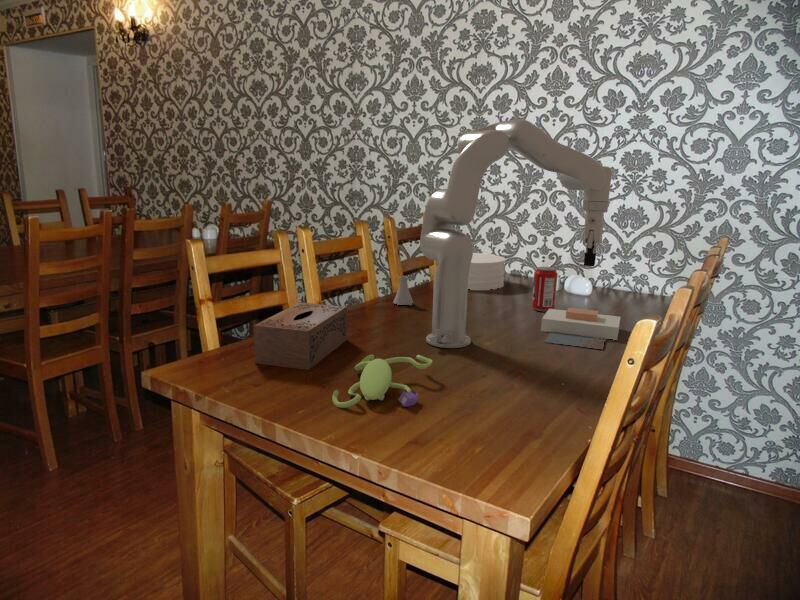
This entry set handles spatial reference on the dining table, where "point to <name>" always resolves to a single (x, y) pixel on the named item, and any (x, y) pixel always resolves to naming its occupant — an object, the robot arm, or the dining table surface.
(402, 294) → the flask
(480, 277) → the plate stack
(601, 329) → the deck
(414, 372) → the dining table surface
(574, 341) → the mat
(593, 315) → the tile
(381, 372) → the figurine
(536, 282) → the soda can
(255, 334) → the tissue box cover
